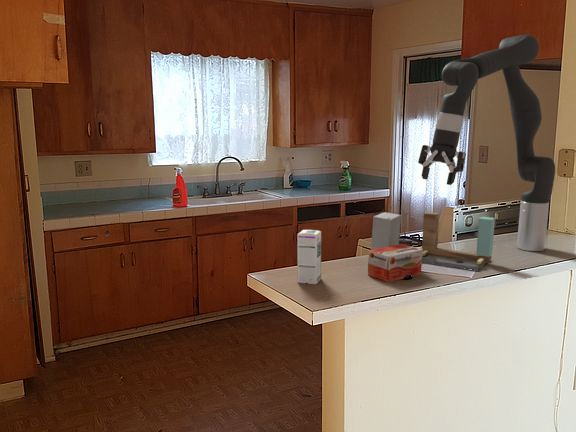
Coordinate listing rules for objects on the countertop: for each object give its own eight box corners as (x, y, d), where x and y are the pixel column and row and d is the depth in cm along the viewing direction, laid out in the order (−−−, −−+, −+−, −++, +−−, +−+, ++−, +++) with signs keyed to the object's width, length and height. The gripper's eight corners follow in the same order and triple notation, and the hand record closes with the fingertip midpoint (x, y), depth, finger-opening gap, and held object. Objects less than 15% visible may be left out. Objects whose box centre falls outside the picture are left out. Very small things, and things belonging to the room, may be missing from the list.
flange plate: (427, 251, 191) (428, 247, 191) (489, 260, 180) (489, 256, 179) (411, 260, 178) (411, 256, 177) (477, 271, 166) (477, 266, 166)
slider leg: (479, 257, 177) (482, 216, 175) (491, 258, 175) (494, 217, 173) (471, 262, 170) (474, 220, 168) (485, 264, 168) (488, 222, 165)
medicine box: (387, 283, 154) (388, 256, 153) (367, 276, 161) (368, 250, 159) (422, 274, 163) (423, 248, 162) (401, 268, 170) (403, 243, 168)
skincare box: (380, 258, 181) (382, 211, 178) (400, 261, 177) (402, 214, 174) (368, 263, 174) (370, 215, 171) (389, 267, 170) (391, 217, 167)
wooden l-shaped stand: (425, 250, 187) (427, 211, 185) (491, 259, 175) (494, 218, 173) (416, 255, 180) (418, 215, 177) (484, 265, 168) (488, 223, 166)
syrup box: (316, 284, 152) (317, 234, 149) (296, 282, 153) (297, 232, 151) (321, 279, 157) (322, 230, 155) (301, 277, 159) (302, 228, 156)
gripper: (475, 133, 162) (463, 186, 165) (433, 127, 171) (423, 177, 174) (463, 131, 156) (451, 186, 159) (421, 125, 166) (410, 176, 169)
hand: (436, 181), depth 167 cm, fingers open, 8 cm apart
